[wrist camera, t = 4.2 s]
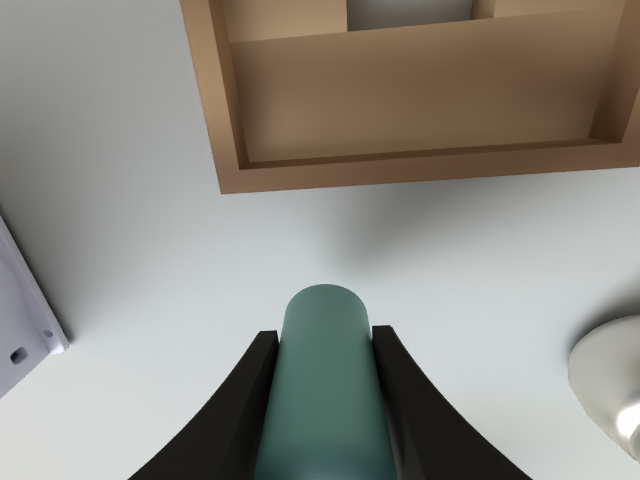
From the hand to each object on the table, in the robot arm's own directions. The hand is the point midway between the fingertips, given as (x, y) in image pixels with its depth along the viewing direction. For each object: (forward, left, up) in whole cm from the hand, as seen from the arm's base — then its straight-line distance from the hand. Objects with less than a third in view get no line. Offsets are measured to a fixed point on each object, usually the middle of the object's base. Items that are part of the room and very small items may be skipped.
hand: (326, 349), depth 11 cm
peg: (0, 0, -2) cm, 2 cm away
